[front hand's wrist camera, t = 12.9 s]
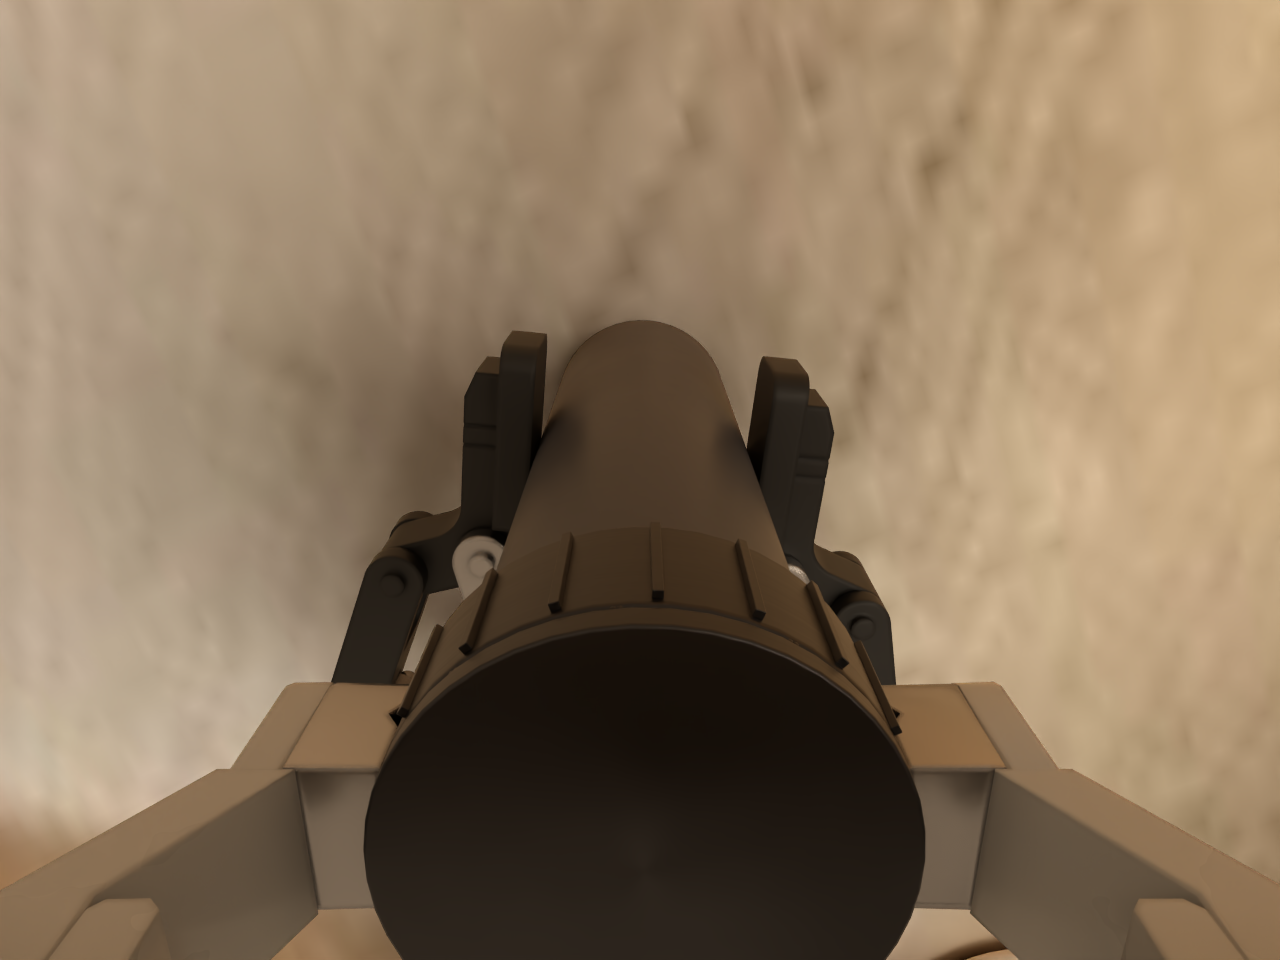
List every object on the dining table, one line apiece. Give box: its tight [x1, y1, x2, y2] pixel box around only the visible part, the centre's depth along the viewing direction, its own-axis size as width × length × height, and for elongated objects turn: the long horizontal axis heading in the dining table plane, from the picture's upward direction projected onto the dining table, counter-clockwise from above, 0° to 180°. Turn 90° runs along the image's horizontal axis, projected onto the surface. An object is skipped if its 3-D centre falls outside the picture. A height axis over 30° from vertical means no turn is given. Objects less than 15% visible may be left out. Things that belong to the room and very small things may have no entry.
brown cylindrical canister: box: [496, 320, 790, 572], centre depth 17 cm, size 4×4×16 cm
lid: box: [363, 522, 926, 960], centre depth 9 cm, size 6×6×2 cm
